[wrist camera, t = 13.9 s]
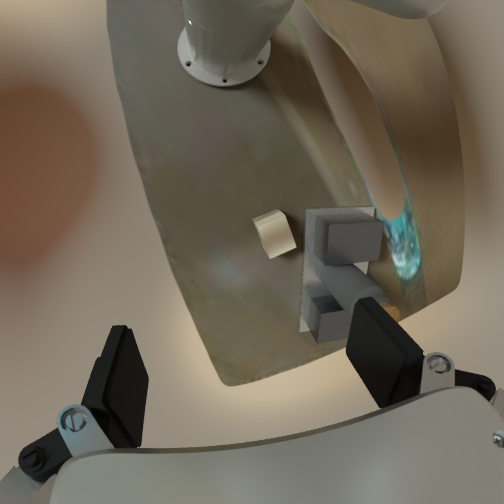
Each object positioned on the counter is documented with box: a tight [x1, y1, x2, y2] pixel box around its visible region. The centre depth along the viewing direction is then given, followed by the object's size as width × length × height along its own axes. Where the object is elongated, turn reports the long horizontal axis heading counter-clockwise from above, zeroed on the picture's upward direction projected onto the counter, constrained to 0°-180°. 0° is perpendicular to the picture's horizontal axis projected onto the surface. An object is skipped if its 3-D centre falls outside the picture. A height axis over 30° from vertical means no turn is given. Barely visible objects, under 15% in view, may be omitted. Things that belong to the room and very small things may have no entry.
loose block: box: [252, 209, 296, 259], centre depth 40 cm, size 5×4×4 cm
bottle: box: [321, 263, 400, 323], centre depth 38 cm, size 6×6×15 cm
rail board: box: [298, 206, 384, 344], centre depth 43 cm, size 22×12×6 cm, turn 2°
